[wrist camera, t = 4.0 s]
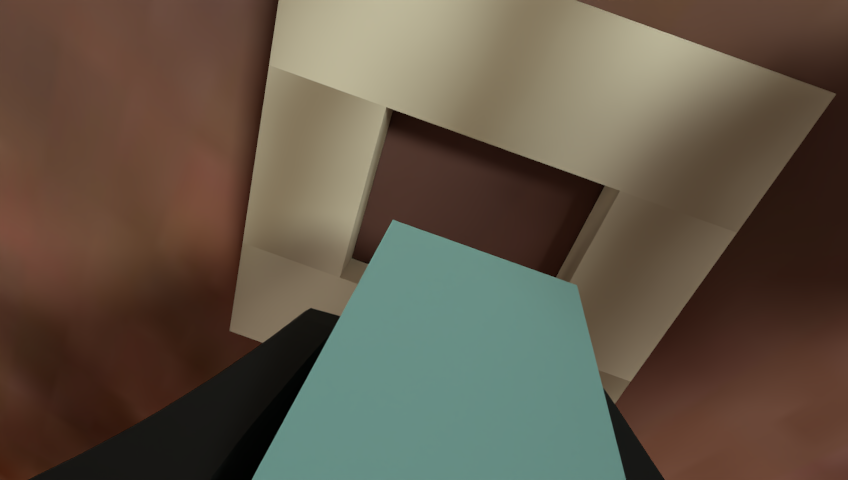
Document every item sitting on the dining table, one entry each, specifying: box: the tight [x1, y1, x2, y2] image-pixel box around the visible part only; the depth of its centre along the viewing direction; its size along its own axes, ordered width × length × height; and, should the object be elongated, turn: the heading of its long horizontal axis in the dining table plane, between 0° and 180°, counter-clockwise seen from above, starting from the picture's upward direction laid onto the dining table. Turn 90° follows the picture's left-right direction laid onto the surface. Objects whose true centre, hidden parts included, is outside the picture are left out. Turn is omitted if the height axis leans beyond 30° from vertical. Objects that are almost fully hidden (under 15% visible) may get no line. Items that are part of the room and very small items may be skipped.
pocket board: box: [230, 0, 836, 404], centre depth 15 cm, size 14×14×1 cm
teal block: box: [252, 220, 626, 480], centre depth 8 cm, size 4×4×7 cm
